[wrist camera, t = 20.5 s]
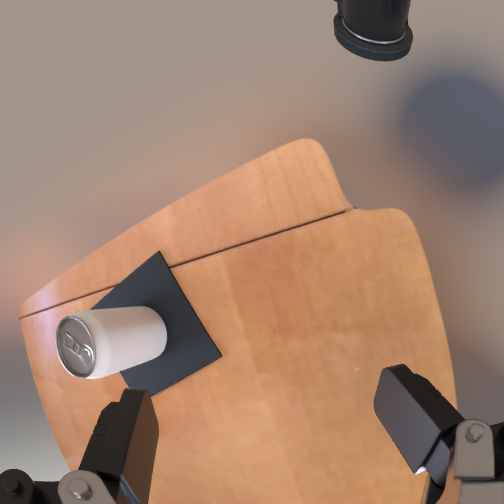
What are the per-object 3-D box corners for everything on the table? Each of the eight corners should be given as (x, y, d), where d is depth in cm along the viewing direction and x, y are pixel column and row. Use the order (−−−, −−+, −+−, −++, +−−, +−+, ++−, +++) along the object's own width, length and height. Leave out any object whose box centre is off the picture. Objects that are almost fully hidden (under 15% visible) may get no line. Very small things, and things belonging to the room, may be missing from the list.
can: (160, 368, 32) (93, 396, 20) (120, 343, 34) (49, 359, 22) (175, 319, 32) (105, 332, 20) (132, 297, 34) (58, 298, 22)
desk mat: (90, 310, 36) (89, 310, 35) (159, 250, 34) (158, 250, 33) (139, 402, 32) (138, 402, 32) (222, 356, 31) (221, 356, 30)
